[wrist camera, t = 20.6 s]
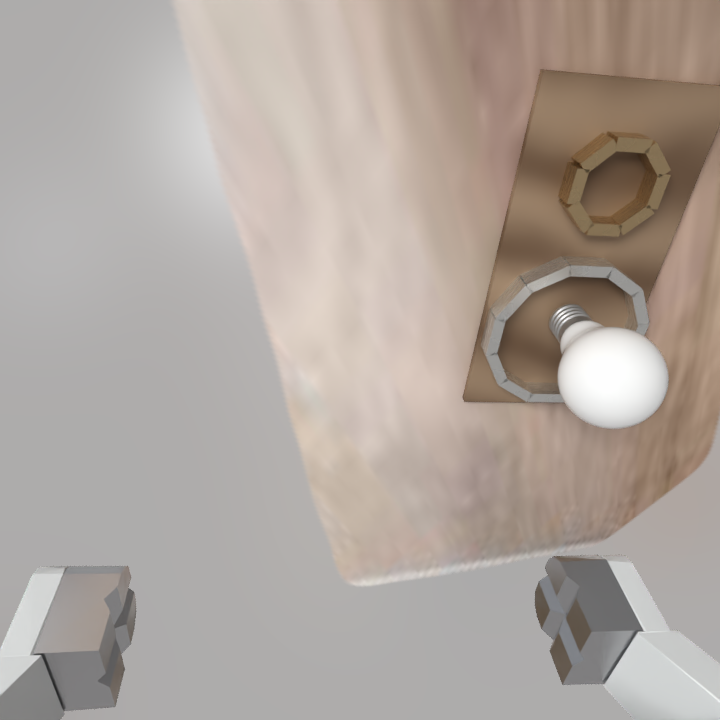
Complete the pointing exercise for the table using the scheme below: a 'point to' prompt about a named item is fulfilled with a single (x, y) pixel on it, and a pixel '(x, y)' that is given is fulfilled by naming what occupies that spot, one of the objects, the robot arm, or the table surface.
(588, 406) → the lightbulb
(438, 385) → the table surface
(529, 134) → the socket board
